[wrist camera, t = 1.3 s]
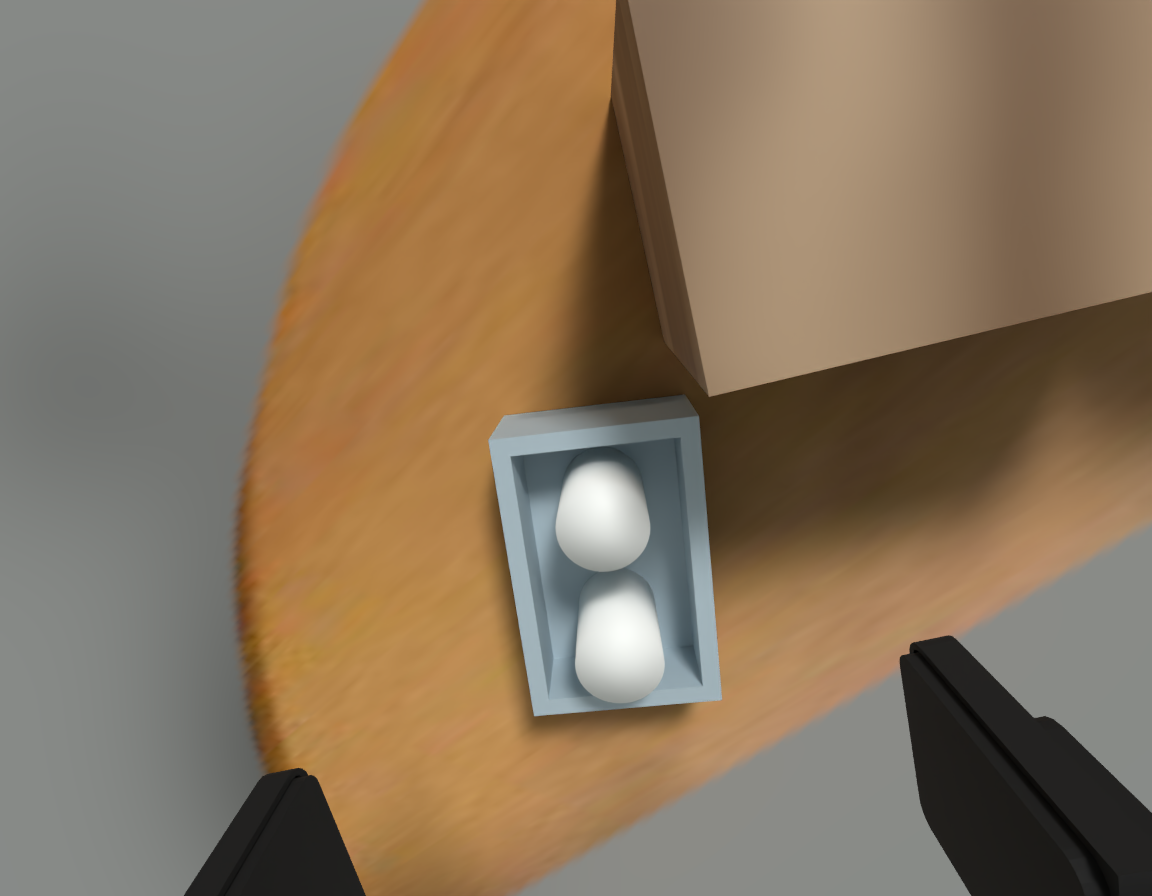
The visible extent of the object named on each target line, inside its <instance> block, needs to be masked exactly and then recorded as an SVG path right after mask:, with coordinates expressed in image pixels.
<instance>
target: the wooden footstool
mask: <svg viewBox="0 0 1152 896" xmlns="http://www.w3.org/2000/svg"><path fill="white" fill-rule="evenodd" d="M611 99H612V103H613V108H614V113H615V117H616V122H617V126H618V131H619V136H620V140H621V145H622V149H623V154H624V159H625V163H626V168H627V172H628V177H629V182H630V186H631V191H632V196H633V200H634V205H635V209H636V214H637V219H638V223H639V228H640V232H641V237H642V242H643V246H644V251H645V255H646V260H647V265H648V269H649V274H650V278H651V283H652V288H653V292H654V297H655V301H656V306H657V311H658V315H659V320H660V324H661V329H662V334H663V338H664V342H665V344H666V345H667V346H668V347H669V348H670V350H671V351H672V352H673V353H674V355H675V356H676V357H677V358H678V359H679V361H680V362H681V363H682V364H683V366H684V367H685V368H686V369H687V370H688V372H689V373H690V374H691V375H692V377H693V378H694V379H695V380H696V381H697V383H698V384H699V385H700V386H701V388H702V389H703V390H704V391H705V393H706V394H707V395H708V396H709V397H711V396H715V395H719V394H723V393H728V392H732V391H736V390H740V389H744V388H749V387H753V386H757V385H761V384H766V383H770V382H774V381H778V380H782V379H787V378H791V377H795V376H799V375H803V374H808V373H812V372H816V371H820V370H825V369H829V368H833V367H837V366H841V365H846V364H850V363H854V362H858V361H863V360H867V359H871V358H875V357H879V356H884V355H888V354H892V353H896V352H901V351H905V350H909V349H913V348H917V347H922V346H926V345H930V344H934V343H938V342H943V341H947V340H951V339H955V338H960V337H964V336H968V335H972V334H976V333H981V332H985V331H989V330H993V329H998V328H1002V327H1006V326H1010V325H1014V324H1019V323H1023V322H1027V321H1031V320H1035V319H1040V318H1044V317H1048V316H1052V315H1057V314H1061V313H1065V312H1069V311H1073V310H1078V309H1082V308H1086V307H1090V306H1095V305H1099V304H1103V303H1107V302H1111V301H1116V300H1120V299H1124V298H1128V297H1133V296H1137V295H1141V294H1145V293H1149V292H1152V0H616V13H615V31H614V49H613V67H612V84H611Z"/></svg>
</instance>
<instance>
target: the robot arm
mask: <svg viewBox="0 0 1152 896" xmlns="http://www.w3.org/2000/svg"><path fill="white" fill-rule="evenodd" d="M909 650H910V654H906V655H902V656H901V657H900V669H901V676H902V683H903V689H904V696H905V702H906V710H907V717H908V723H909V730H910V737H911V743H912V750H913V757H914V764H915V771H916V778H917V785H918V791H919V797H920V803H921V806H922V810H923V813H924V815H925V818H926V820H927V822H928V824H929V826H930V828H931V830H932V831H933V833H934V835H935V837H936V838H937V840H938V841H939V843H940V845H941V846H942V848H943V850H944V851H945V853H946V855H947V856H948V858H949V860H950V861H951V863H952V865H953V866H954V868H955V870H956V871H957V873H958V875H959V876H960V877H961V879H962V881H963V883H964V884H965V886H966V888H967V889H968V891H969V893H970V894H971V896H1152V813H1151V812H1150V811H1149V810H1148V809H1147V808H1146V807H1145V806H1144V805H1143V804H1142V803H1141V802H1140V801H1139V800H1138V799H1137V798H1136V797H1135V796H1134V795H1133V794H1132V793H1130V792H1129V791H1128V790H1127V789H1126V788H1125V787H1124V786H1123V785H1122V784H1121V783H1120V782H1119V781H1118V780H1117V779H1116V778H1115V777H1114V776H1113V775H1112V774H1111V773H1110V772H1109V771H1108V770H1107V769H1106V768H1105V767H1104V766H1103V765H1102V764H1101V763H1100V762H1098V760H1096V758H1095V757H1093V756H1092V755H1091V754H1090V753H1089V752H1088V751H1087V750H1086V749H1085V748H1084V747H1083V746H1082V745H1081V744H1080V743H1079V742H1078V741H1077V740H1076V739H1075V738H1074V737H1073V736H1072V735H1071V734H1070V733H1069V732H1068V731H1067V730H1066V729H1065V728H1064V727H1062V726H1061V725H1060V724H1059V723H1057V722H1056V721H1055V720H1054V719H1051V718H1049V717H1046V716H1043V717H1039V718H1033V717H1032V716H1031V715H1030V714H1029V713H1028V712H1027V711H1026V710H1025V709H1024V708H1023V707H1022V706H1021V705H1020V703H1018V702H1017V700H1015V698H1014V697H1012V695H1011V694H1009V692H1008V691H1007V690H1006V689H1005V688H1004V687H1003V686H1002V685H1001V684H1000V683H999V682H998V681H997V680H996V679H995V678H994V677H993V676H992V675H991V674H990V673H989V672H988V671H987V670H986V669H985V668H984V667H983V666H982V665H981V664H980V663H979V662H978V661H977V660H976V659H975V658H974V657H973V656H972V655H971V654H970V653H969V652H968V651H967V650H966V649H965V648H964V647H963V646H962V645H961V644H960V643H959V642H958V641H957V640H956V639H955V638H954V637H953V636H949V635H948V636H943V637H938V638H934V639H929V640H924V641H919V642H914V643H912V644H911V645H910V649H909ZM184 896H366V895H365V893H364V890H363V888H362V885H361V883H360V881H359V878H358V876H357V873H356V871H355V869H354V866H353V864H352V861H351V859H350V856H349V854H348V852H347V849H346V847H345V844H344V842H343V840H342V837H341V835H340V832H339V830H338V828H337V825H336V823H335V820H334V818H333V815H332V813H331V811H330V808H329V806H328V803H327V801H326V799H325V796H324V794H323V791H322V789H321V786H320V784H319V782H318V780H317V778H316V777H314V776H312V775H309V776H308V774H307V772H306V771H304V770H303V769H301V768H295V769H291V770H286V771H281V772H276V773H271V774H267V775H265V776H263V777H262V778H261V779H260V780H259V781H258V782H257V784H256V786H255V787H254V789H253V790H252V792H251V793H250V795H249V796H248V798H247V799H246V801H245V802H244V804H243V806H242V807H241V809H240V810H239V812H238V813H237V815H236V816H235V818H234V819H233V821H232V823H231V824H230V825H229V827H228V829H227V830H226V832H225V833H224V835H223V836H222V838H221V840H220V841H219V843H218V844H217V846H216V847H215V849H214V850H213V852H212V853H211V855H210V856H209V858H208V859H207V861H206V862H205V864H204V866H203V867H202V868H201V870H200V872H199V873H198V875H197V876H196V878H195V879H194V881H193V882H192V884H191V885H190V887H189V888H188V890H187V891H186V893H185V895H184Z"/></svg>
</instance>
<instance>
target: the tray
mask: <svg viewBox="0 0 1152 896" xmlns="http://www.w3.org/2000/svg"><path fill="white" fill-rule="evenodd" d="M488 441H489V447H490V453H491V459H492V465H493V471H494V477H495V483H496V489H497V495H498V501H499V507H500V514H501V520H502V526H503V532H504V538H505V544H506V550H507V556H508V562H509V568H510V574H511V580H512V586H513V592H514V598H515V604H516V610H517V616H518V622H519V628H520V634H521V640H522V646H523V652H524V658H525V664H526V670H527V676H528V682H529V688H530V694H531V700H532V706H533V713H534V716H542V715H554V714H565V713H577V712H589V711H600V710H612V709H624V708H635V707H647V706H659V705H670V704H682V703H693V702H705V701H717V700H722V695H721V682H720V670H719V657H718V645H717V633H716V620H715V608H714V596H713V583H712V571H711V559H710V546H709V534H708V522H707V509H706V497H705V485H704V472H703V460H702V447H701V435H700V423H699V415H698V414H697V412H696V411H695V409H694V408H693V406H692V404H691V403H690V401H689V400H688V398H687V397H686V395H676V396H667V397H659V398H650V399H642V400H633V401H625V402H616V403H608V404H599V405H591V406H582V407H574V408H565V409H556V410H548V411H539V412H531V413H522V414H514V415H505V416H504V417H503V418H502V420H501V421H500V423H499V424H498V426H497V427H496V429H495V431H494V432H493V434H492V435H491V437H490V438H489V440H488Z"/></svg>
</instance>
